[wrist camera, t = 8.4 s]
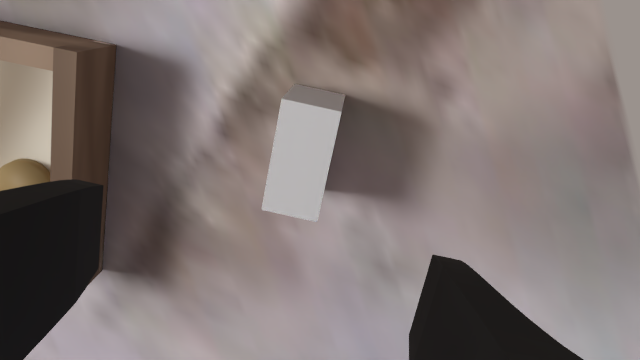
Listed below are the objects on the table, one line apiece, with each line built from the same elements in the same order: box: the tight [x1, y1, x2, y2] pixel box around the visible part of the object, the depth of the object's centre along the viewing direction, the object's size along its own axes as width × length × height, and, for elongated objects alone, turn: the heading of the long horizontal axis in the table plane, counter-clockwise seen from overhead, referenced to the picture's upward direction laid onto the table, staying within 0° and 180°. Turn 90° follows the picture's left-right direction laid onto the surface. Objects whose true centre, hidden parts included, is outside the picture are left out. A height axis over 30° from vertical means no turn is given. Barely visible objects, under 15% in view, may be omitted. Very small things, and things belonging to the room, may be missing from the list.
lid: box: [261, 84, 345, 222], centre depth 20 cm, size 11×11×4 cm
